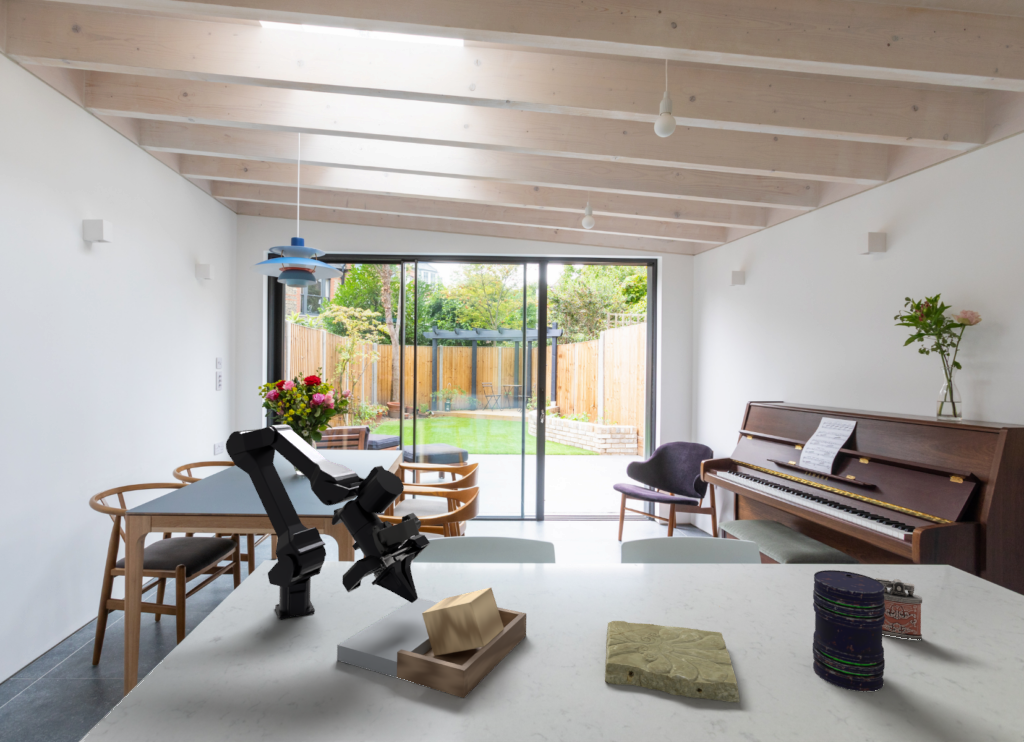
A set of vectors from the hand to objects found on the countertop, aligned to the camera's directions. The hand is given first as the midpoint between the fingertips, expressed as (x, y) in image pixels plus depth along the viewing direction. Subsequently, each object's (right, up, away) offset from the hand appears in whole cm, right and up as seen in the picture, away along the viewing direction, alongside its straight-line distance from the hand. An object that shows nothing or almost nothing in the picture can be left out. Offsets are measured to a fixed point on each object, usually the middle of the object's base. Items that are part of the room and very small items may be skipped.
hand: (415, 600), depth 100 cm
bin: (+9, -7, -5) cm, 13 cm away
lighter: (+87, -8, +5) cm, 88 cm away
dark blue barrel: (+70, -8, -9) cm, 71 cm away
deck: (-1, -7, +1) cm, 7 cm away
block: (+5, -3, -2) cm, 6 cm away
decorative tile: (+42, -8, -7) cm, 44 cm away
